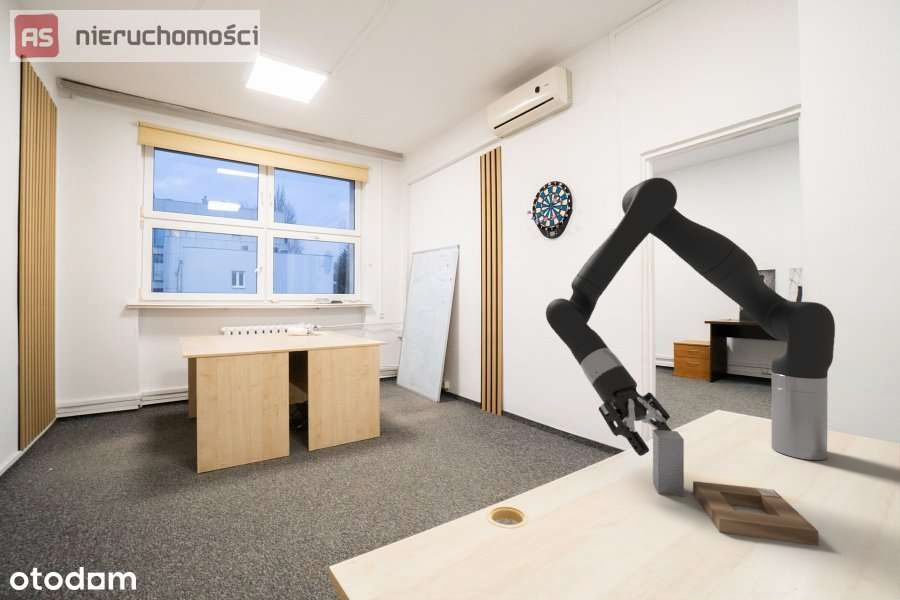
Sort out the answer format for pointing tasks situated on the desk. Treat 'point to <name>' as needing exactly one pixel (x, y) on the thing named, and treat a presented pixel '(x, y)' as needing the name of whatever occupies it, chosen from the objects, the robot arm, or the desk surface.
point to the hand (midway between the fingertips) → (659, 449)
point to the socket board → (772, 525)
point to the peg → (668, 462)
